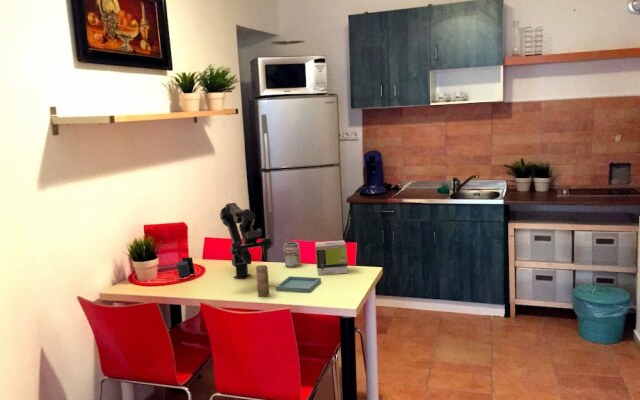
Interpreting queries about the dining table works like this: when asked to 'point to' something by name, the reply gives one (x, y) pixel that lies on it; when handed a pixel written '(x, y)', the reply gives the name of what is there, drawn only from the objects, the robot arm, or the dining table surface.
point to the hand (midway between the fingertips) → (256, 261)
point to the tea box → (331, 257)
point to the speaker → (185, 267)
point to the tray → (298, 284)
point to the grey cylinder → (292, 254)
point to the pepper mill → (262, 280)
